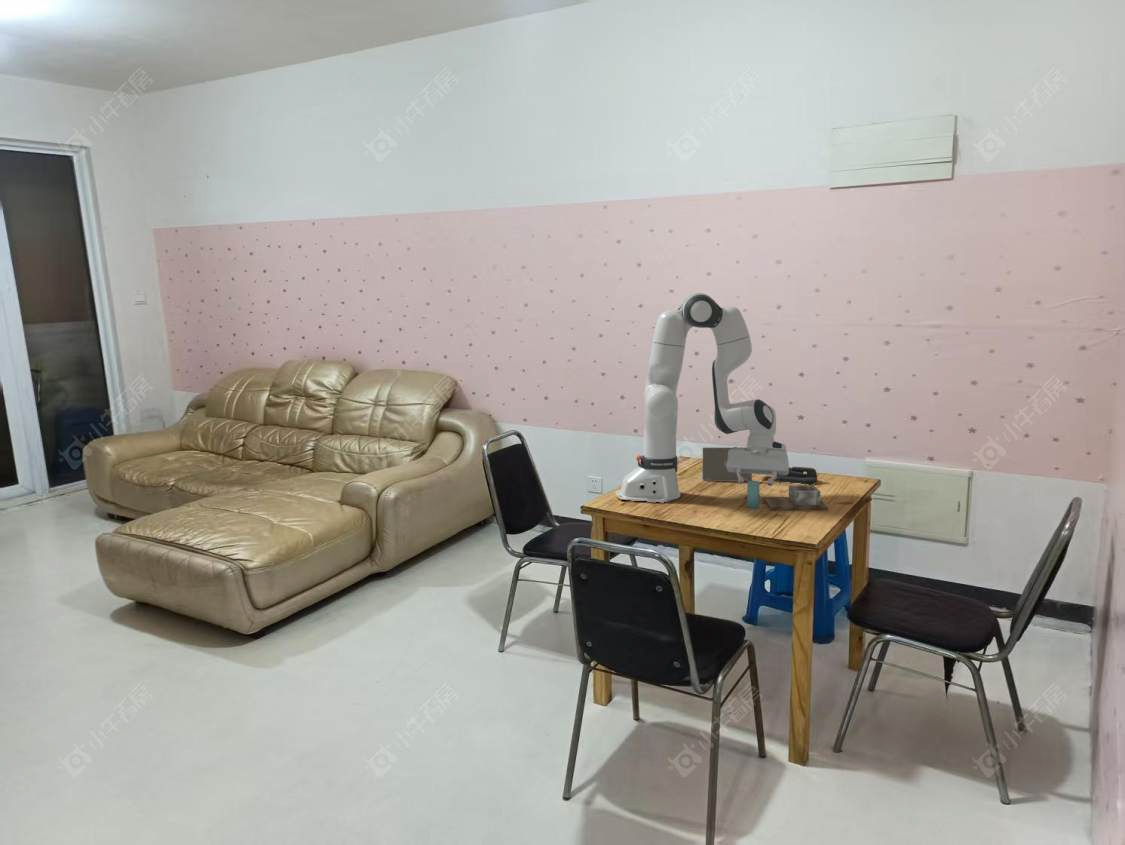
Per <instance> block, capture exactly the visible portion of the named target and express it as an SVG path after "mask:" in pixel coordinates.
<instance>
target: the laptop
mask: <svg viewBox="0 0 1125 845" xmlns="http://www.w3.org/2000/svg"><path fill="white" fill-rule="evenodd" d="M731 448H732V447H703V448H702V471H700V478H701V480H702V482H738V479H739V478H738V476H737V473H735V472H729V471H728V470H727V467H726V464H727V460H728V451H729V449H731ZM740 476H741V477H743V479H744V481H743V482H748V481H753V479H752V478H753V477H752V476H753V474H750V473H741V475H740Z"/></svg>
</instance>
